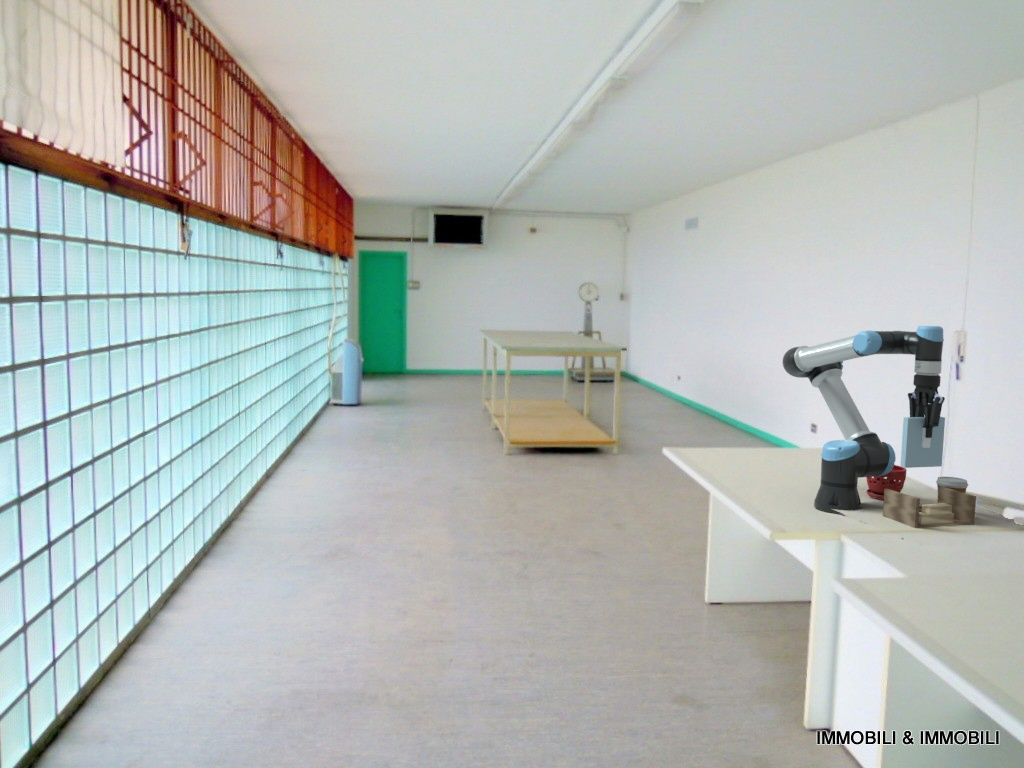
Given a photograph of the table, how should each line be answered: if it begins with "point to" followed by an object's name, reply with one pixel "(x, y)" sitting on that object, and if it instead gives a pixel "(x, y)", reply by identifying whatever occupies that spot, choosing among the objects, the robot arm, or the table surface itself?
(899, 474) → the plant pot
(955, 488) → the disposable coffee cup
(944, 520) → the offcut stack
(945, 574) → the table surface
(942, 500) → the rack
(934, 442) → the panel
